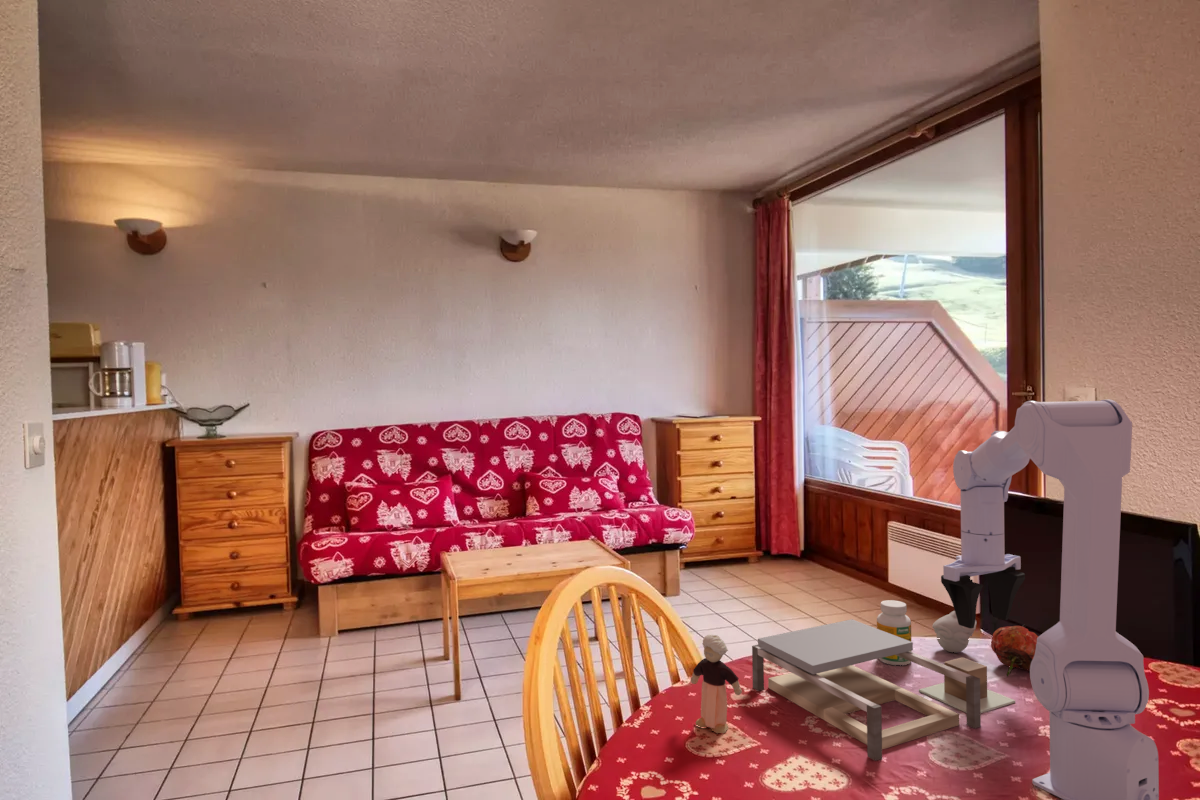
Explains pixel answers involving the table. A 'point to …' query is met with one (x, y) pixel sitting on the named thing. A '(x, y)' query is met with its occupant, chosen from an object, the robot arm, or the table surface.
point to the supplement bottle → (894, 626)
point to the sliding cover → (834, 645)
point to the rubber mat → (986, 703)
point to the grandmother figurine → (714, 684)
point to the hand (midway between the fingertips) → (983, 622)
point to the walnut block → (969, 668)
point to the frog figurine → (952, 633)
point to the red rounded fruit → (1014, 646)
